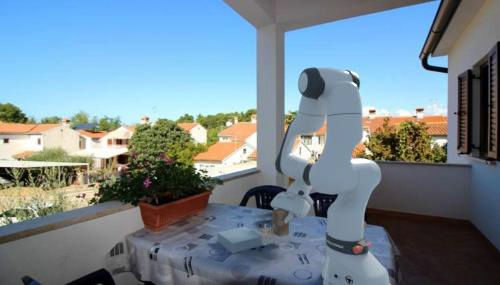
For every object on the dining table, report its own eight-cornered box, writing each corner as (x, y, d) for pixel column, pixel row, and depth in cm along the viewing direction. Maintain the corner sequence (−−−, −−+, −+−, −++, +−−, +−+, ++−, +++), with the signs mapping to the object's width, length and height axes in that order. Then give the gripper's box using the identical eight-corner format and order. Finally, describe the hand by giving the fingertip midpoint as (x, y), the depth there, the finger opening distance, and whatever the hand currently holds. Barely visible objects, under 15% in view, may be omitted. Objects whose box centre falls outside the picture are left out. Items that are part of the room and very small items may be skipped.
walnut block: (289, 234, 111) (288, 210, 111) (279, 236, 109) (279, 212, 109) (281, 231, 116) (281, 208, 116) (272, 233, 113) (272, 210, 113)
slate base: (262, 245, 110) (262, 236, 110) (233, 253, 103) (233, 243, 103) (244, 234, 122) (244, 226, 122) (217, 241, 114) (217, 232, 114)
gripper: (277, 187, 125) (261, 210, 119) (308, 194, 107) (291, 221, 102) (285, 195, 127) (269, 218, 122) (316, 203, 110) (299, 231, 105)
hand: (279, 220), depth 112 cm, fingers closed on walnut block, 5 cm apart
